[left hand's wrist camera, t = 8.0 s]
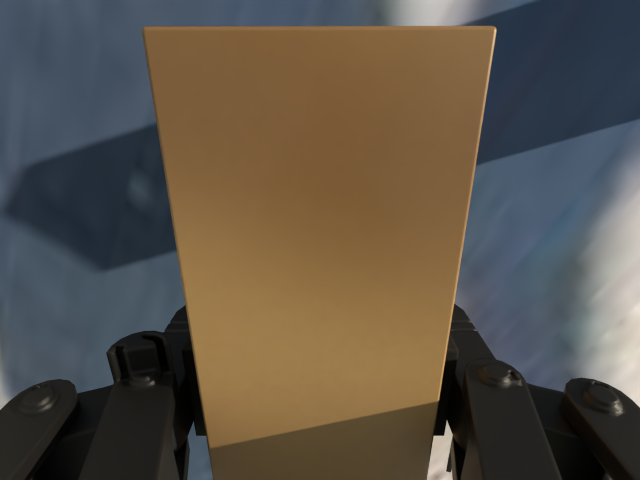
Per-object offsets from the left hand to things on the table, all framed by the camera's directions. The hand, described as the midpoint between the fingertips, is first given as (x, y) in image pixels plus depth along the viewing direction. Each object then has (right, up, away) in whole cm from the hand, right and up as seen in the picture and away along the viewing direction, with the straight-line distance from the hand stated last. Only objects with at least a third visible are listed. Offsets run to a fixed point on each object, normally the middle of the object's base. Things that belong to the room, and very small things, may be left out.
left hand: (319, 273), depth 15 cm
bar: (0, -27, +11) cm, 29 cm away
